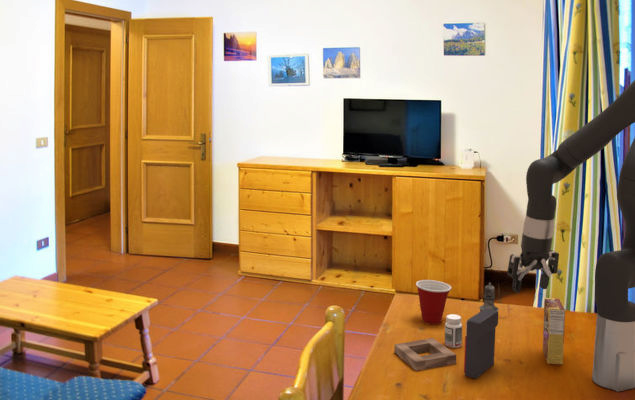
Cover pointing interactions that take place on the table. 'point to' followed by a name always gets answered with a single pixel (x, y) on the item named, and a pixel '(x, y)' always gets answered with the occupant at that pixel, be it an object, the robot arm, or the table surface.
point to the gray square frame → (436, 359)
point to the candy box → (553, 330)
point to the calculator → (480, 342)
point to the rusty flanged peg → (489, 299)
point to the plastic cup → (432, 299)
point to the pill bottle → (453, 331)
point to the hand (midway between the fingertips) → (529, 289)
